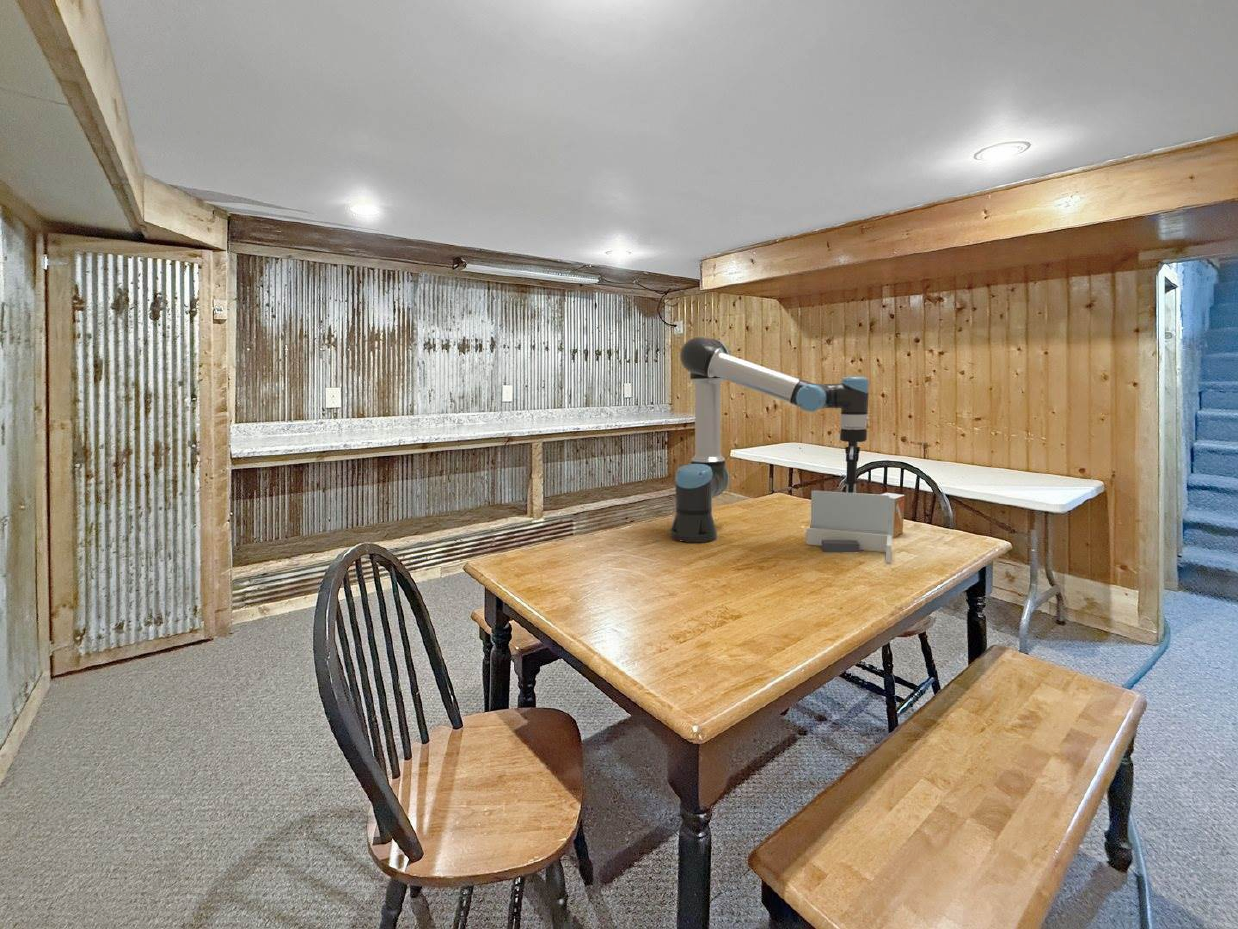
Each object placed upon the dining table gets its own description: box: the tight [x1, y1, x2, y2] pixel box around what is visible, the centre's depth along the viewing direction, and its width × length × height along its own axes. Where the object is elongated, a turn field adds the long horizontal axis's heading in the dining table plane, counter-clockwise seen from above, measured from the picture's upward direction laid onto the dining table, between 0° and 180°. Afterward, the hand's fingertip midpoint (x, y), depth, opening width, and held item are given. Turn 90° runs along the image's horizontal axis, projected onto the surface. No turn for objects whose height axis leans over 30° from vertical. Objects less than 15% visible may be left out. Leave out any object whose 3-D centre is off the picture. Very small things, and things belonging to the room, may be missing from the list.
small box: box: [879, 492, 906, 539], centre depth 192 cm, size 8×6×13 cm
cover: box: [809, 490, 889, 535], centre depth 175 cm, size 22×12×1 cm
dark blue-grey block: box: [821, 540, 860, 553], centre depth 175 cm, size 10×4×3 cm, turn 82°
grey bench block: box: [805, 527, 893, 564], centre depth 174 cm, size 24×14×5 cm, turn 65°
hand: (850, 504), depth 181 cm, fingers closed
